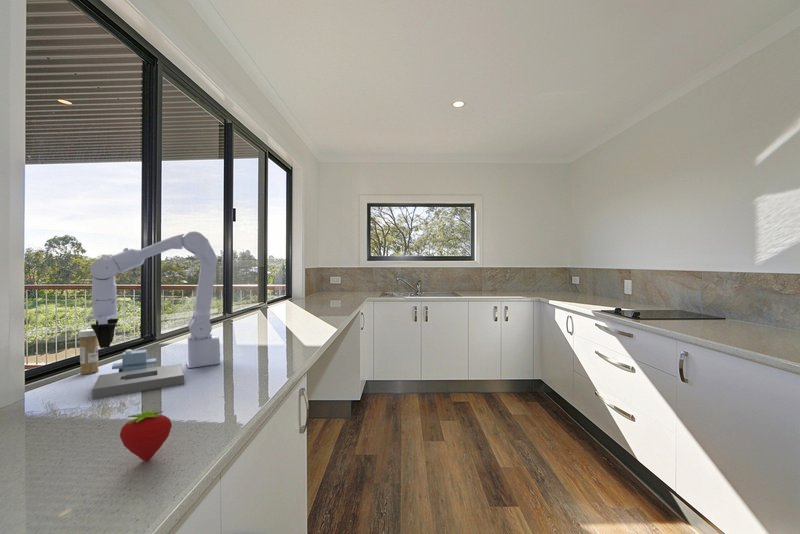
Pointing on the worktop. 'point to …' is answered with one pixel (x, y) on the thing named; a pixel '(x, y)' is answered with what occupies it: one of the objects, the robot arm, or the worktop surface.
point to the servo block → (133, 361)
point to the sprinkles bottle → (88, 351)
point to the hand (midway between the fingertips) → (106, 345)
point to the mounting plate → (138, 380)
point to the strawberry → (145, 433)
